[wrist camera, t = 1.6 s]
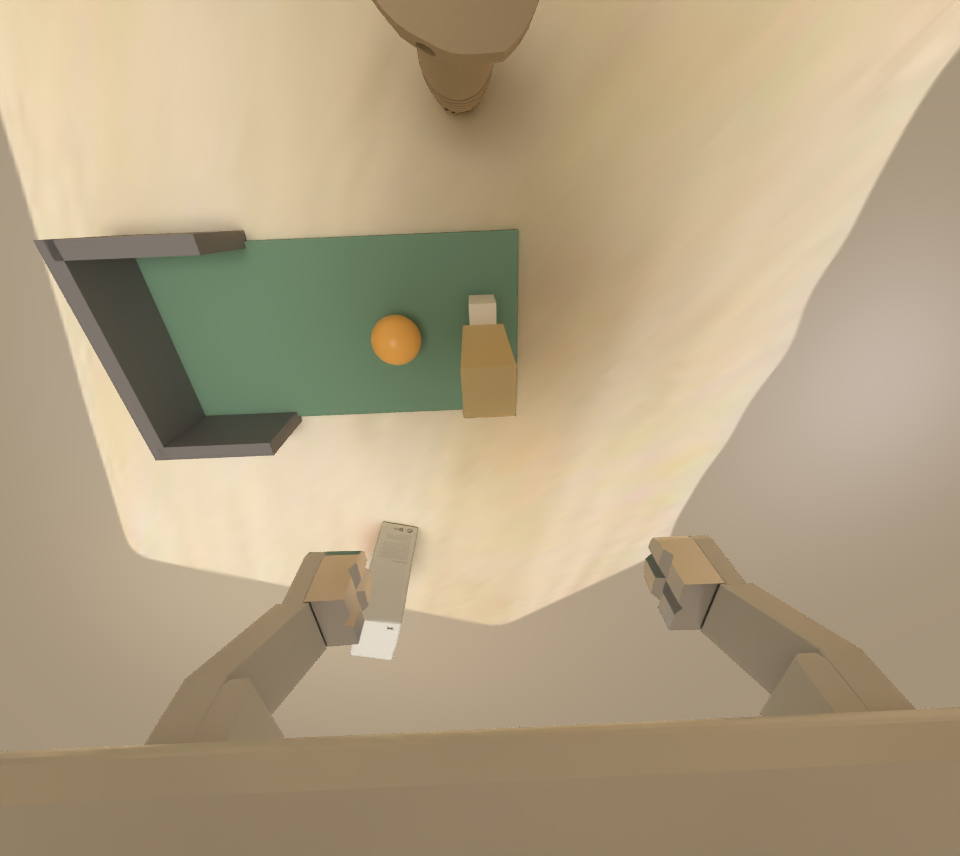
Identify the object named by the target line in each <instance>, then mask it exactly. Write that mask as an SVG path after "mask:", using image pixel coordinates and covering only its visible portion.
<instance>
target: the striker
mask: <svg viewBox="0 0 960 856" xmlns="http://www.w3.org/2000/svg"><path fill="white" fill-rule="evenodd" d="M469 323H470V325H463V332H462V351H461V384H462V399H463V415H464V418H476V417H499V416H516V375H517V366H516V363H515V359H514V356H513V353H512V350H511V347H510V344H509V340H508V337H507V334H506V331H505V328H504V325H503V324H497V323H496V301H495V298H494V294H485V295H469Z"/></svg>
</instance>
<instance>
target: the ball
mask: <svg viewBox="0 0 960 856" xmlns="http://www.w3.org/2000/svg"><path fill="white" fill-rule="evenodd" d="M371 345H372V348H373V350H374V352H375V354H376V355H377V356H378V357H379V358H380V359H381V360H382V361H384V362H386V363H388V364H391V365H404V364H407V363H409V362H410V361H412V360H413V359H414V358H415V357H416V356H417V355H418V353H419V351H420V348H421V334H420V331H419V329H418V327H417V326H416V325H415V323H414V322H413V321H411V320H410V319H409V318H407V317H405V316H402V315H388V316H385V317H383V318H382V319H380V320H379V321H378V322H377V323H376V324H375V326H374V328H373V330H372V333H371Z"/></svg>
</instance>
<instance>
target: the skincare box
mask: <svg viewBox="0 0 960 856" xmlns="http://www.w3.org/2000/svg"><path fill="white" fill-rule="evenodd" d="M417 532H418V528H416V527H411V526H404V525H398V524H393V523H387V522H383V523H382V526H381V530H380V533H379V537H378V540H377V544H376V547H375V551H374V554H373V558H372V561H371V564H370V568H369V571H370V574H371V580H372V589H371V598H370V602H369V606H368V607H367V608H366V609H365V610H364V611H363V612H362V613H363V617H364V620H365V621H364V625H363V629H362V632H361V636H360V640H359V644H354V645H351V652H350V654H351V655H356V656H364V657H372V658H380V659H387V660H391V659H392V658H393V655H394V651H395V647H396V644H397V640H398V636H399V632H400V628H401V624H402V619H403V613H404V608H405V602H406V595H407V590H408V584H409V578H410V572H411V566H412V561H413V555H414V549H415V544H416V538H417Z"/></svg>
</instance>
